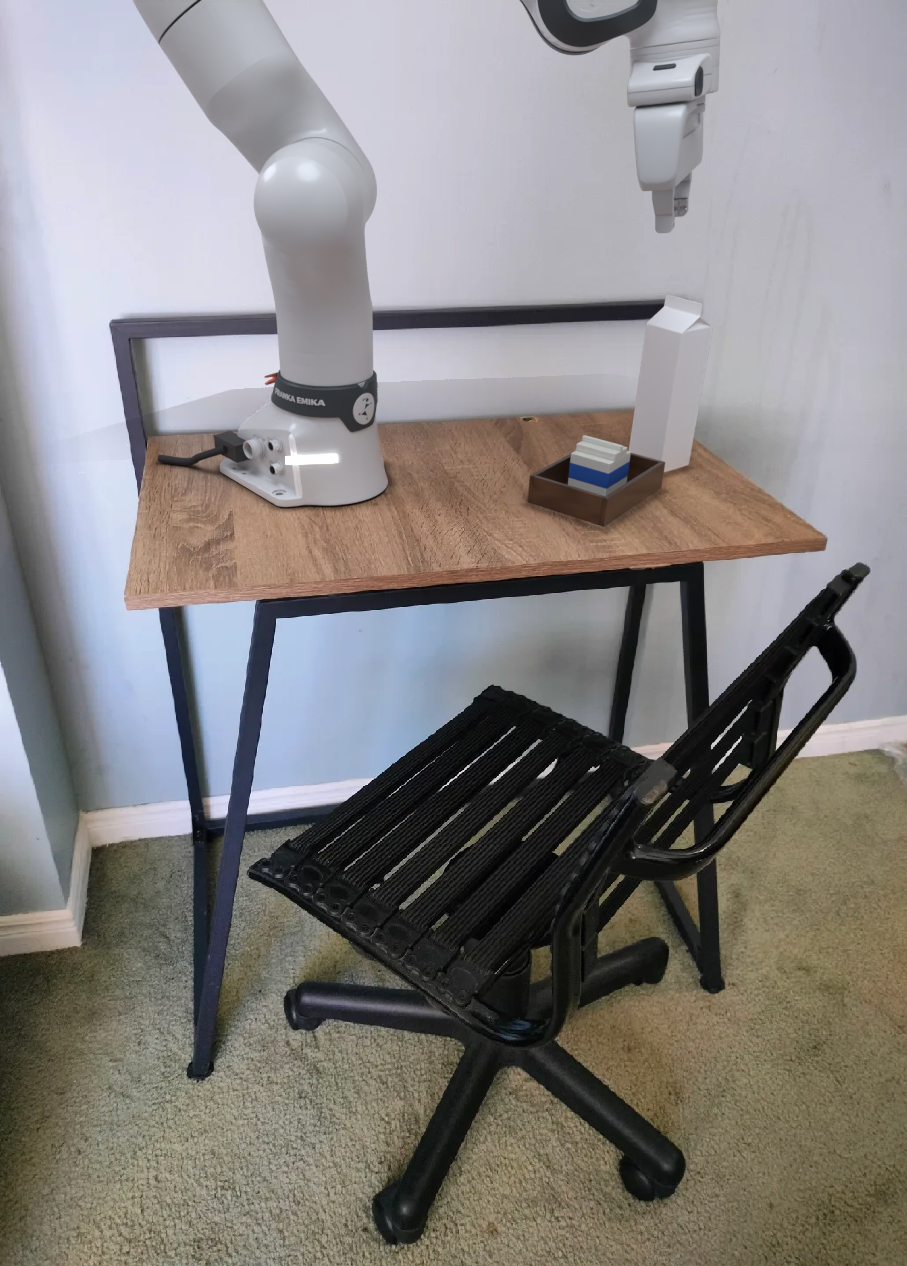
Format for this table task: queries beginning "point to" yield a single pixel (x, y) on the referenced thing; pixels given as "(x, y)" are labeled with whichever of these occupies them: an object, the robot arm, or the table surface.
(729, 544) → the table surface
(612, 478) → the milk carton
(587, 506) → the box
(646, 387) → the milk
